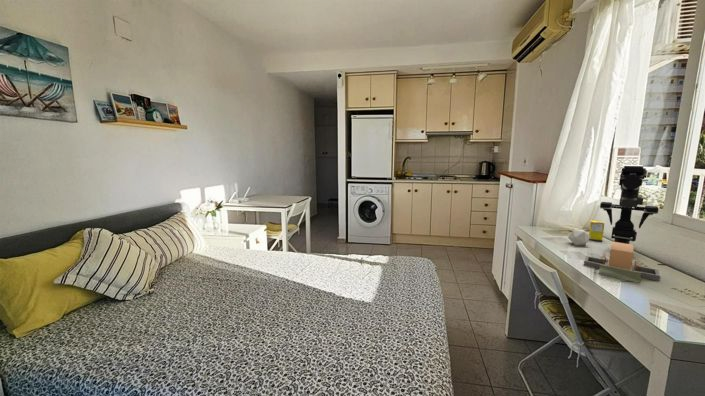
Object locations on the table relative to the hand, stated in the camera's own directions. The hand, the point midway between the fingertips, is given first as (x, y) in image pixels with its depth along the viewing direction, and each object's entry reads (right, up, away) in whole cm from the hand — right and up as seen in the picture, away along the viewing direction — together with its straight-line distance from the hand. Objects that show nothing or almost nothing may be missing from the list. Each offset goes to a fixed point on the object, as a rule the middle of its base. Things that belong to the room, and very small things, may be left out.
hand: (624, 226), depth 128 cm
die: (+1, -13, +28) cm, 31 cm away
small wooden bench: (-8, -18, -5) cm, 20 cm away
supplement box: (+18, -12, +37) cm, 43 cm away
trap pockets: (-9, -18, -6) cm, 21 cm away
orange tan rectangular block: (-5, -17, -2) cm, 18 cm away
